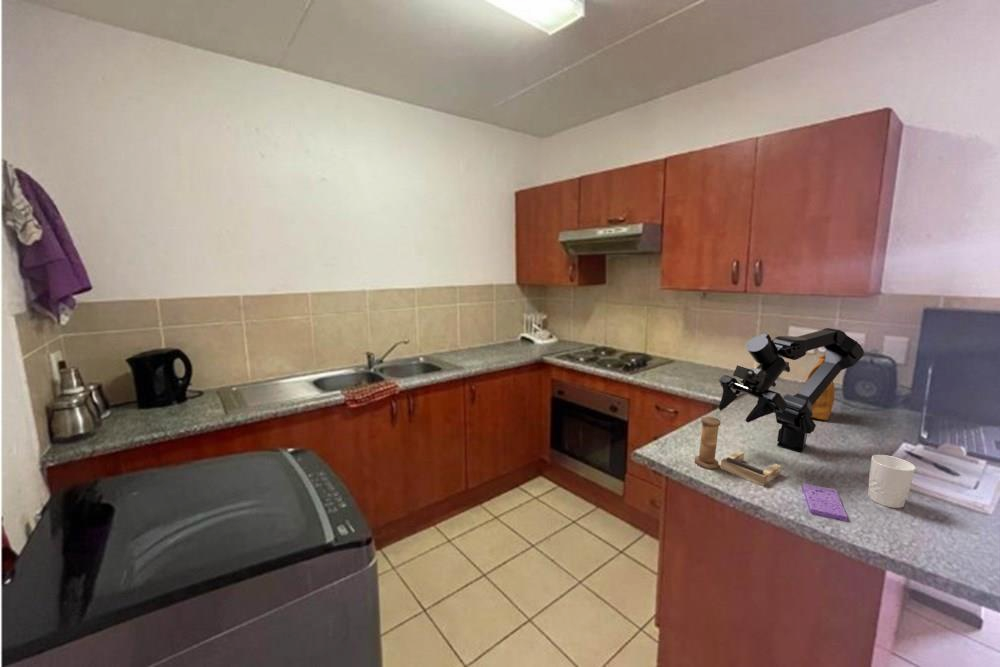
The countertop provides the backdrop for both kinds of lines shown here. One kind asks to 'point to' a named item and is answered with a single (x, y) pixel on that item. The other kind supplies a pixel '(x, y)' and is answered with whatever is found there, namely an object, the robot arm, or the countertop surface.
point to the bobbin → (708, 443)
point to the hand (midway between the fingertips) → (732, 415)
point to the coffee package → (823, 397)
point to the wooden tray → (749, 469)
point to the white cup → (890, 480)
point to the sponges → (824, 502)
